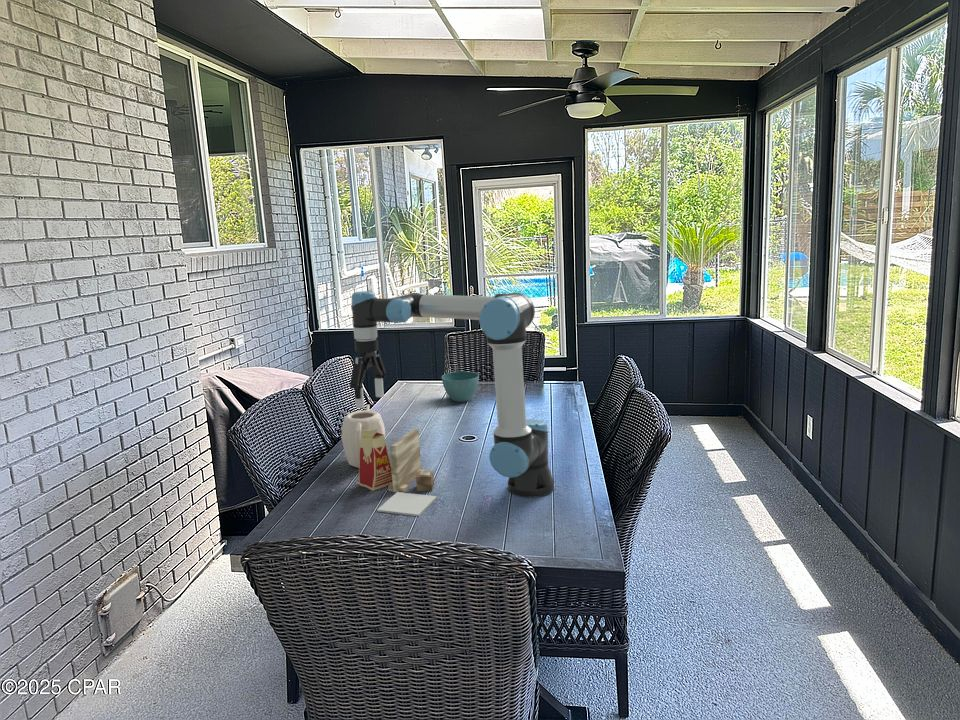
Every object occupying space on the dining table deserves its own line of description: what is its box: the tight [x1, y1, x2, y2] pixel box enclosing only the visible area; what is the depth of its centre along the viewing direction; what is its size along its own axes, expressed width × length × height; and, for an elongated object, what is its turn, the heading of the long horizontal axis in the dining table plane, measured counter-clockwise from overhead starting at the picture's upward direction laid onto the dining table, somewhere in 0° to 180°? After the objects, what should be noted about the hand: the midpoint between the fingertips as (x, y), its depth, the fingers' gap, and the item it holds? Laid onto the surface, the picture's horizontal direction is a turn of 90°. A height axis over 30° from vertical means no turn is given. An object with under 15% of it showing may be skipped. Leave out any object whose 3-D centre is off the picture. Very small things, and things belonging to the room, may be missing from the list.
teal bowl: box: [441, 371, 480, 403], centre depth 330 cm, size 18×18×12 cm
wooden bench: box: [387, 428, 427, 493], centre depth 227 cm, size 6×18×16 cm, turn 161°
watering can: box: [341, 404, 386, 469], centre depth 247 cm, size 16×27×19 cm, turn 1°
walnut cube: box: [415, 470, 435, 492], centre depth 223 cm, size 5×5×5 cm
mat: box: [376, 492, 438, 517], centre depth 210 cm, size 14×14×1 cm
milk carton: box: [358, 429, 393, 491], centre depth 226 cm, size 9×9×20 cm
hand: (370, 402), depth 222 cm, fingers open, 13 cm apart
